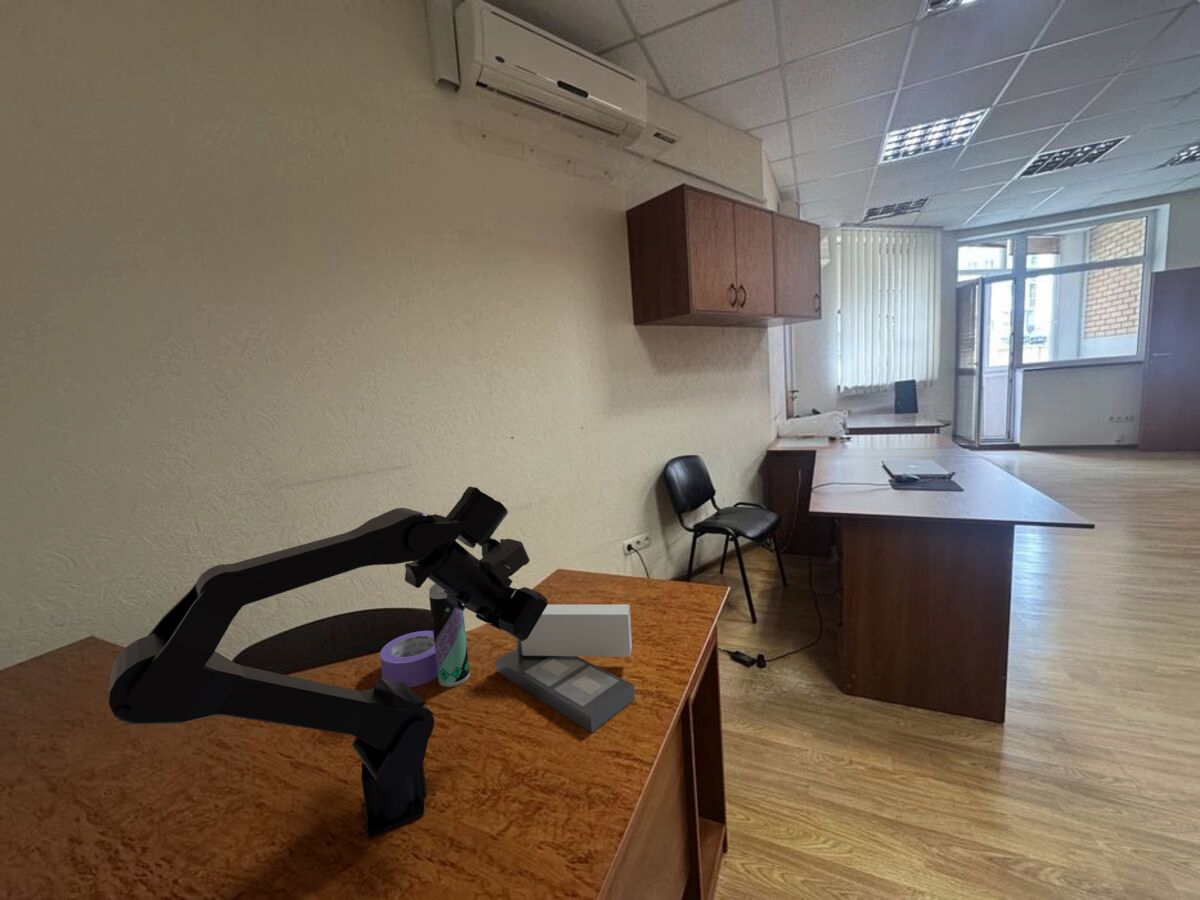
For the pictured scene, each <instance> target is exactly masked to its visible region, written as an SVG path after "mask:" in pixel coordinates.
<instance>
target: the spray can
mask: <svg viewBox="0 0 1200 900" xmlns="http://www.w3.org/2000/svg"><path fill="white" fill-rule="evenodd" d="M428 590H429V593H428V595H429V596H428V597H429V606H430V616H431V624H432V631H433V635H434V644H435V653H436V662H437V671H438V677H437V679H438V680H437V681H438V684H439V685H440V686H441V687H445V688H452V687H457V686H460V685H462V684H463V683H465V682H466V681H468V680H469V678H470V675H471V674H470V664H469V656H468V645H467V636H466V634H467V633H466V624H465V616H464V615H465V613H464V611H462V610H460V609H458V608H456V607H455V606H453V605H452V604H450V603H449V602H448V601H447V594H446V593H445V592H444V591H445V590H444V589H442V588H441V587H440V586H438V585H437V584H436V583H433V585H431V586H430V587H429V588H428ZM461 604H462V605H464V604H463V603H461Z"/></svg>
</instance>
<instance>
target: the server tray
mask: <svg viewBox="0 0 1200 900" xmlns="http://www.w3.org/2000/svg"><path fill="white" fill-rule="evenodd" d="M495 663H496V665H495V666H496V671H497V673H498V674H500V675H501V676H503V677H504V678H506V679H508V680H509V681H511V682H512V683H514V684H515V685H517V686H518V687H520V688H521V689H523V690H524V691H526V692H528V693H529V694H531V695H532V696H534V697H536V698H537V699H539V700H540V701H541V702H543V703H544V704H546V705H548V706H550V707H551V708H553V709H554V710H556V711H557V712H559V713H561V715H563V716H565V717H566V718H568V719H569V720H571V721H573V722H575V724H578V725H579V726H581V727H582V728H584V729H586V731H588V732H590V733H591V734H592V733H594V732H596V731H597V730H598V729H599V728H601V726H603V725H604V724H606V722H608V721H609V720H610V719H612V718H613V717H614V716H616V715H617V714H618V713H619V712H620V711H622V710H623V709H624V708H626V707H627V706H628V705H630V704H631V703H632V702H633V701H635V699H636V695H635V694H636V692H635V684H633V683H631V682H629V681H628V680H625V679H623V678H622V677H619V676H618V675H615V674H613V673H611V672H609V671H608V670H606V669H603V668H601V667H599V666H597V665H595V664H593V663H591V662H590V661H587V660H585V659H583V658H581V657H580V656H524V655H522V654H520V653H518V649H517V648H514V649H512V650H511V651H509V652H507V653H505V654H503V655H502V656H500V657H497V658H496V659H495Z"/></svg>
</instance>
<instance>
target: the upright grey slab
mask: <svg viewBox="0 0 1200 900" xmlns="http://www.w3.org/2000/svg"><path fill="white" fill-rule="evenodd" d="M630 608H631V607H630V604H624V603H623V604H618V603H617V604H616V603H615V604H548V605H547V606H546V608H545V610H544V611H543V613H542V615H541V616H540V618H539V620H538V621H537V623H536V625H535V627H534V628H533V630H532V632H531V633H530V635H529V637H528V638H527V639H526V640H524V641H520V640H518V639H517V638H516V649H518V653H520V654H522V655H524V656H577V657H593V658H594V657H597V658H598V657H599V658H601V657H603V658H605V657H607V658H631V656H632V654H631V653H632V649H633V648H632V646H633V643H632V642H633V641H632V640H633V639H632V624H631V623H632V622H631V609H630Z"/></svg>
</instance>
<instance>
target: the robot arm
mask: <svg viewBox="0 0 1200 900" xmlns="http://www.w3.org/2000/svg"><path fill="white" fill-rule="evenodd" d="M508 513H509V511H508V509H507V508H506V506H505V505H504V504H503V503H501V501H499V500H495V499H494V498H493V497H491V496H490V495H489V494H487V493H485V492H483V491H481V490H480V489H479V488H478V487H475V486H468V487H467V488H466V489H465V491H464V492H463V493H462V495H461V497H460V499H459V500H458V501H457V503H456V504H455V505H454V506H453V507H452V509H451V510H450V511H449V512H448V514H447V515H446V516H443V515H440V514H438V513H437V514H436V513H435V514H428V513H425V512H421V511H417V510H414V509H411V508H407V507H398V508H396V507H395V508H393V509H391V510H388V511H387V512H384V513H382V514H379V515H377V516H375V517H373V518H371V519H368V520H367V521H365V522H364V523H363V524H361V525H359V526H358V527H356V528H354V529H352V530H349V531H347V532H345V533H344V532H343V533H341V534H337V535H333V536H329V537H326V538H323V539H319V540H314V541H311V542H308V543H307V542H306V543H303V544H300V545H296V546H293V547H288V548H286V549H282V550H279V551H277V550H276V551H274V552H271V553H267V554H262V555H259V556H256V557H252V558H248V559H244V560H241V561H238V562H235V563H228V564H225V563H223V564H217V565H215V566H213V567H209V568H208V569H207V570H205V571H204V572H202V574H201V575H200V576H199V577H198V578H197V580H196V582H195V584H193V586H192V587H191V588H190V589H189V591H188V592H187V593H185V594H184V596H182V597H181V598H180V599H179V600H178V601H177V602H176V604H174V605H173V606H172V607H171V608H170V609H169V610H168V611H167V612H166V613H165V614H164V616H162V618H161V619H160V620H159V621H158V622H157V623H156V625H155V626H154V627H153V629H151V631H150V632H149V633H148V634H147V635H146V636H144V637H141V638H138V639H137V640H135V641H133V642H132V643H130V644H129V645H127V646H126V647H125V648H124V649H122V651H121V652H120V653H118V655H117V656H116V658H115V659H114V662H113V664H112V665H111V673H110V682H109V683H110V684H109V694H108V695H109V697H108V705H109V707H110V710H111V712H112V714H113V716H114V717H115V718H116V719H118V720H119V721H121V722H124V723H126V724H131V725H159V724H160V725H163V724H166V725H167V724H183V723H187V722H193V721H197V720H201V719H205V718H209V717H213V716H225V717H233V718H239V719H245V720H252V721H256V722H257V721H259V722H265V723H271V724H278V725H285V726H291V727H292V726H293V727H298V728H303V729H304V728H305V729H310V730H315V731H317V730H318V731H324V732H331V733H338V734H342V735H343V734H344V735H349V736H353V737H355V739H354V740H353V742H352V743H351V747H352V748H353V750H354V751H355V753H356V754H357V755H358V757H359V759H360V760H361V761H362V763H361V785H362V786H361V787H362V792H363V802H364V809H365V835H366V837H367V838H372V837H373V836H376V835H379V834H382V833H384V832H386V831H389V830H390V829H391V830H392V829H394V828H396V827H398V826H401V825H402V824H403V825H404V824H405V823H408V822H410V821H413V820H416V819H417V818H419V817H422V816H423V815H425V811H426V809H425V803H424V799H426V798H427V796H428V791H427V783H426V782H427V781H426V775H425V768H424V762H425V761H424V760H425V758H426V757H425V755H426V752H427V748H428V742H429V739H430V737H431V736H432V734H433V730H434V727H435V726H434V725H435V717H434V712H432V711H431V709H430V708H428V707H427V706H426V703H427V702H426V701H425V700H424V699H423V698H422V697H421V696H420V695H418V693H417V692H415V691H414V690H413V689H412V687H409V686H408V685H407V684H406V683H405V682H399V683H394V682H390V681H388V680H386V679H384V678H382V676H379V677H378V678H377V680H376V683H375V686H374V688H373V687H372V688H369V689H365V690H355V689H351V688H346V687H344V686H343V687H342V686H338V685H332V684H328V683H323V682H319V681H315V680H310V679H305V678H301V677H296V676H292V675H287V674H282V673H277V672H273V671H269V670H268V671H267V670H263V669H260V668H259V669H258V668H255V667H251V666H245V665H241V664H238V663H236V662H235V661H233V660H231V659H229V658H228V657H226V656H224V655H223V654H220V653H219V652H217V648H218V646H219V644H220V643H221V641H222V639H223V637H224V635H225V634H226V631H228V628H229V626H230V625H231V623H232V622H233V620H234V618H235V617H236V616H237V615H238V613H239V612H240V611H241V609H242V608H243V607H244V606H246V605H249V604H253V603H256V602H259V601H262V600H265V599H268V598H271V597H275V596H278V595H279V594H283V593H287V592H290V591H292V590H295V589H298V588H301V587H304V586H307V585H310V584H311V585H312V584H313V583H317V582H321V581H323V580H327V579H329V578H332V577H335V576H338V575H341V574H345V573H348V572H351V571H353V570H356V569H360V568H364V567H369V566H381V565H382V566H384V565H385V566H386V565H397V564H403V563H405V564H404V568H405V574H404V581H405V583H407V584H409V585H410V586H413V587H414V588H416V589H420V588H421V587H422V586H423V584H424V583H425V582H426V580H427V579H428V580H430V581H431V582H433V584H435V583H436V584H437V585H438V586H440V587H441V588H442V589H444V590H445V591H444V592H445V593H446V594H447V601H448V602H449V603H450V604H452V605H453V606H455V607H456V608H458V609H460V610H462V611H463V612H464V611H465V609H467V610H468V611H470V612H472V613H474V614H475V618H477V619H478V620H480V621H481V622H484V623H487V624H490V626H492V627H494V628H496V629H498V630H499V631H503V632H504V633H506V634H508V635H509V636H510V637H512V638H515V639H516V640H517V639H518V640H520V641H524V640H526V639H527V638H528V637H529V635H530V633H531V632H532V630H533V628H534V627H535V625H536V623H537V621H538V620H539V618H540V616H541V615H542V613H543V611H544V610H545V608H546V606H547V605H549V603H548V598H547V597H545V596H544V594H542V593H541V592H539V591H538V590H535V589H531V588H529V587H526V586H523V587H520V588H516V587H511V585H512V584H513V580H512V579H511V578H510V577H512V576H513V575H514V574H516V572H518V571H519V570H520V569H521V568H523V567H524V566H526V565H528V563H529V562H530V561H531V560H530V559H531V558H530V557H529V554H528V553H527V550H526V549H525V546H524V544H523V542H522V541H520V540H515V539H512V538H501V539H500V540H499V541H498V540H497V539H495V538H493V537H492V536H493V535H494V533H495V532H496V530H497V529H498V528H499V526H500V525H501V523H503V521H504V520H505V517H507V515H508ZM457 541H459V542H461V543H462V544H464V545H465V546H466V547H469V548H470V549H471V548H472V549H474V548H475V547H476V546H477V545H478V546H480V547H481V556H482V557H481V558H480V559H478V558H477V557H476V556H475V555H473V554H472V553H470V551H469V550H468V549H466V548H465V547H464V546H462V545H461V544H460V543H459V542H457ZM461 603H463V605H462V604H461Z"/></svg>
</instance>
